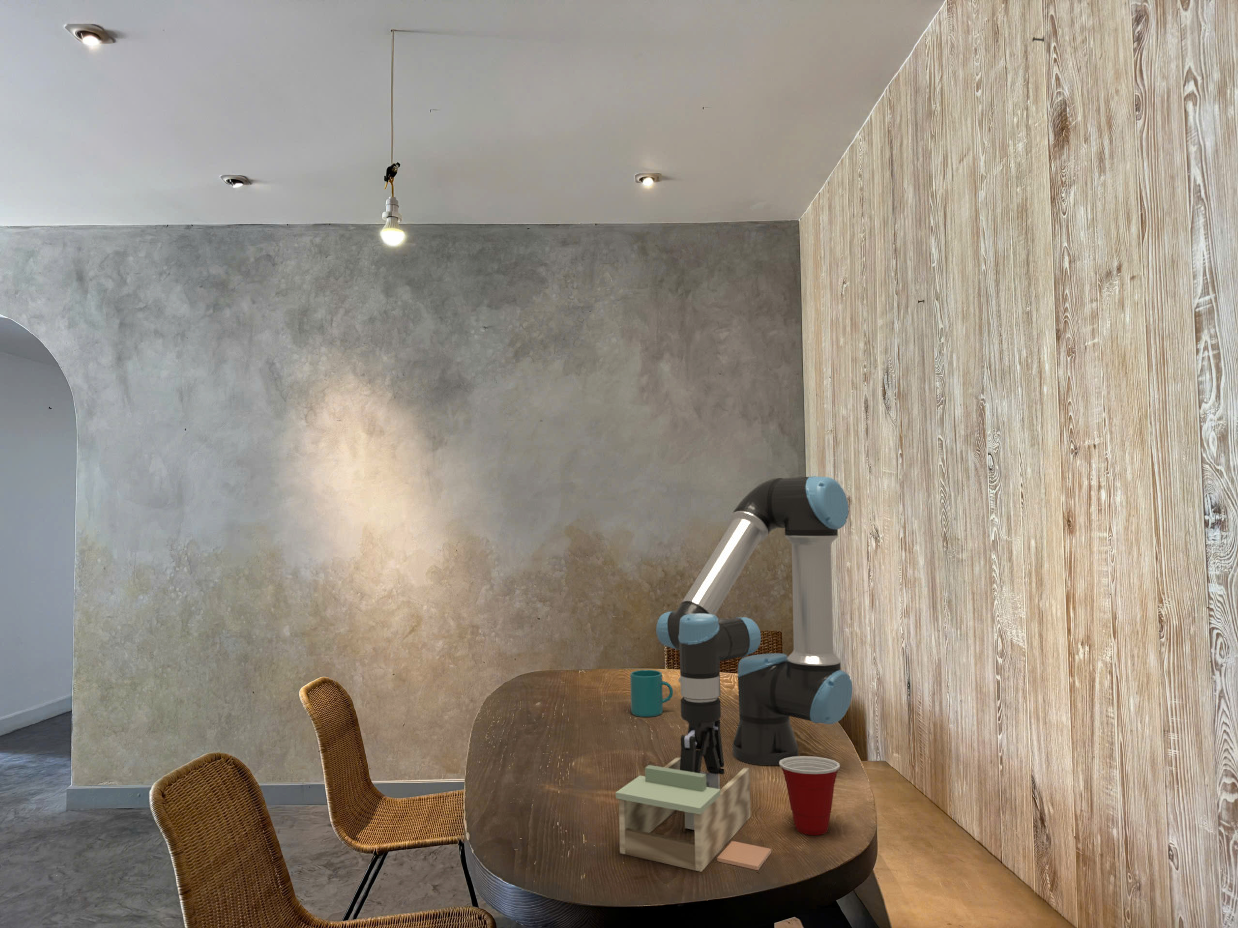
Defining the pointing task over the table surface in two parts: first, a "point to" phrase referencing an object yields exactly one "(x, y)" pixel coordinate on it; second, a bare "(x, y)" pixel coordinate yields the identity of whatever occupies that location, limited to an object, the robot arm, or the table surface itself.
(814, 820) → the plastic cup
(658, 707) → the cup
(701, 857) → the wooden box
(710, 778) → the slate block
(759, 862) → the terracotta coaster
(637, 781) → the cover
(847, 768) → the table surface
